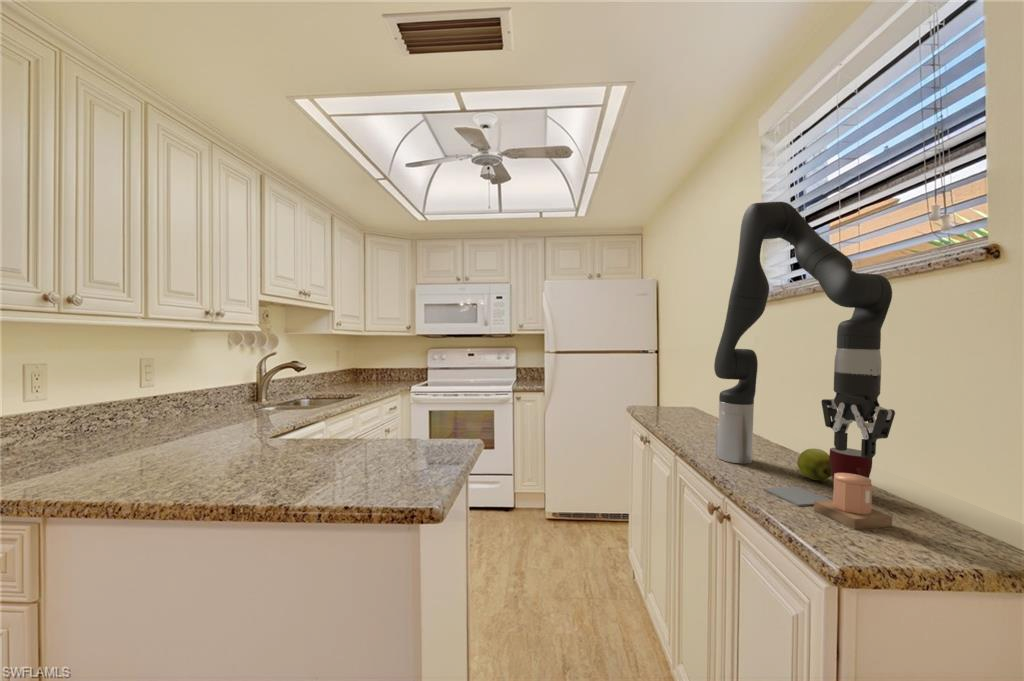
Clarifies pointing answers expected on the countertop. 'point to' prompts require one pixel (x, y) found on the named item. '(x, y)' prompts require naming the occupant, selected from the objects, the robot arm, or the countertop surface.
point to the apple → (815, 464)
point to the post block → (853, 516)
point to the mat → (796, 495)
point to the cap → (852, 493)
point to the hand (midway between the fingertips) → (853, 453)
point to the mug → (849, 462)
